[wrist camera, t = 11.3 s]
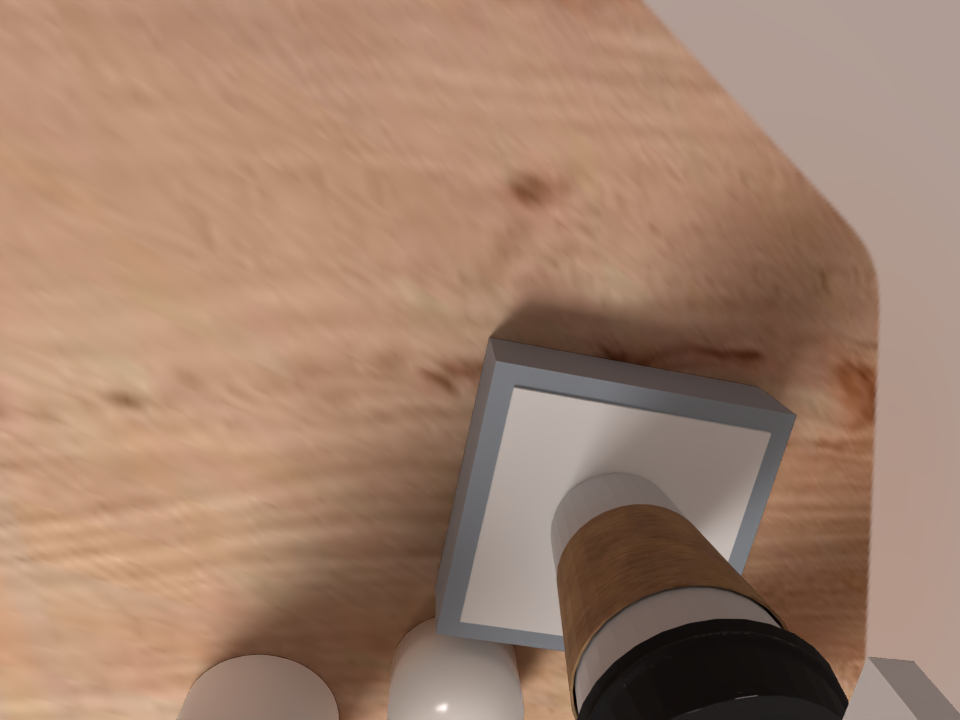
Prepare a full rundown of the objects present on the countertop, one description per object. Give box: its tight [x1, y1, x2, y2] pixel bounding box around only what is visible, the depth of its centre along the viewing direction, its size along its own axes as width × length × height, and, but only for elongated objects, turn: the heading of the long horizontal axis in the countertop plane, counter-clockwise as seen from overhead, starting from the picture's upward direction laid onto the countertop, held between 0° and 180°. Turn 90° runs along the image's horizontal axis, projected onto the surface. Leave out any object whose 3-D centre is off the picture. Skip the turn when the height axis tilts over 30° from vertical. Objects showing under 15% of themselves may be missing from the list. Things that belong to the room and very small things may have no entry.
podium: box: [436, 337, 797, 651], centre depth 36 cm, size 14×14×4 cm
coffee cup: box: [550, 473, 849, 720], centre depth 27 cm, size 8×8×15 cm
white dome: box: [387, 617, 524, 720], centre depth 39 cm, size 7×7×4 cm
